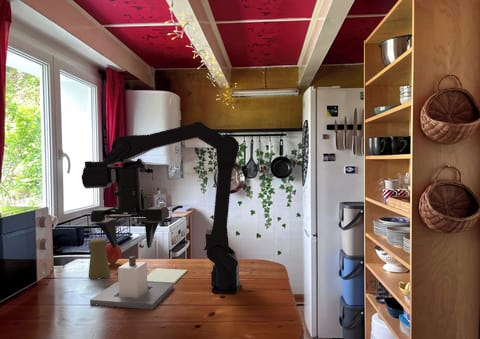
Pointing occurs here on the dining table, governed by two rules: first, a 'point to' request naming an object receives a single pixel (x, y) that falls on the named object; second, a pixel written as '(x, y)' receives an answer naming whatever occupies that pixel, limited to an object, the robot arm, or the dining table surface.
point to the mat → (165, 276)
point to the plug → (132, 279)
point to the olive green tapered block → (98, 259)
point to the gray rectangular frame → (145, 302)
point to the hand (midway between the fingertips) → (132, 247)
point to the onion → (113, 253)
